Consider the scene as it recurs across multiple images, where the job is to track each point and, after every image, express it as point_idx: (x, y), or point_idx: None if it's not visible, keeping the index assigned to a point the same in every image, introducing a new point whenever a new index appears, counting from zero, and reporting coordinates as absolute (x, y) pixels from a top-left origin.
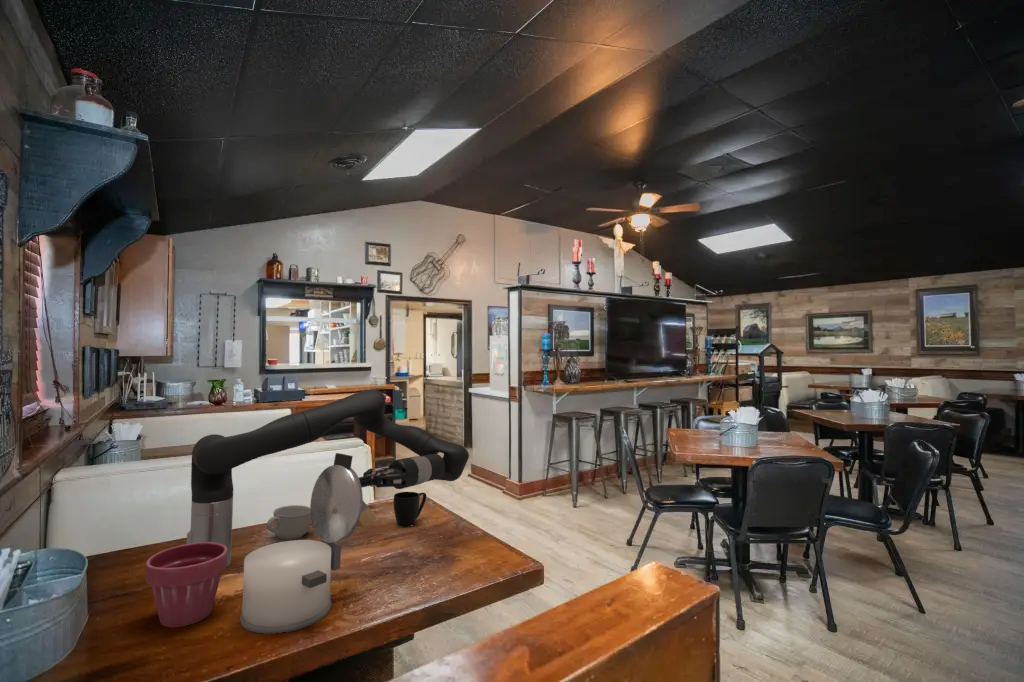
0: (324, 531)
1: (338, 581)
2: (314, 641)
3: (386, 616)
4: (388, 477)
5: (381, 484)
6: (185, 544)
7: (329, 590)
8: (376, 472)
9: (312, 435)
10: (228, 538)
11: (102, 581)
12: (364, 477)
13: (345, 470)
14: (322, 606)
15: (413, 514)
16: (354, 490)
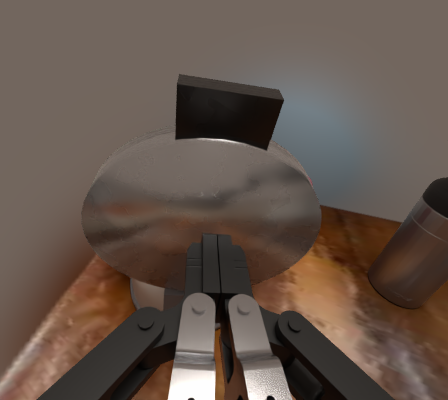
0: None
1: (223, 396)
2: (96, 263)
3: (22, 366)
4: (70, 374)
5: (137, 370)
6: (311, 183)
7: (143, 299)
8: (242, 371)
9: None
10: (407, 269)
11: (381, 220)
12: (211, 268)
13: (169, 129)
14: (133, 288)
15: None
16: (98, 171)
